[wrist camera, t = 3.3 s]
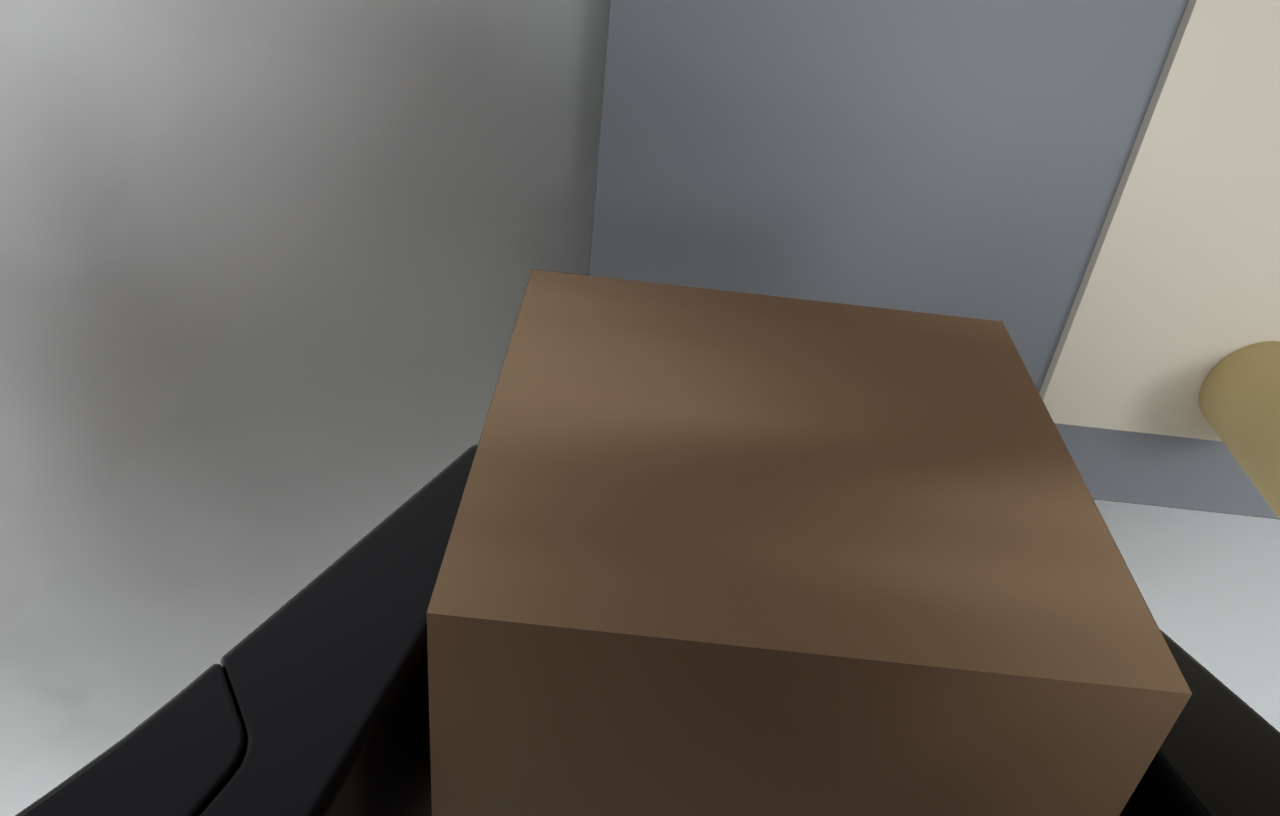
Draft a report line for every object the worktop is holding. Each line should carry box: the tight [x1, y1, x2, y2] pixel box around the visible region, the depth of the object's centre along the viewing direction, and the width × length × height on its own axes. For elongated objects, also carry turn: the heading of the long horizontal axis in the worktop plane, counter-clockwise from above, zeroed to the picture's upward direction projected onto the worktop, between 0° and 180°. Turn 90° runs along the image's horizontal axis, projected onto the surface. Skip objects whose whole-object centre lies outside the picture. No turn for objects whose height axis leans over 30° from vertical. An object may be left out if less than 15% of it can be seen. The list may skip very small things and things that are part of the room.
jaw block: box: [427, 269, 1192, 816], centre depth 8 cm, size 4×4×4 cm
